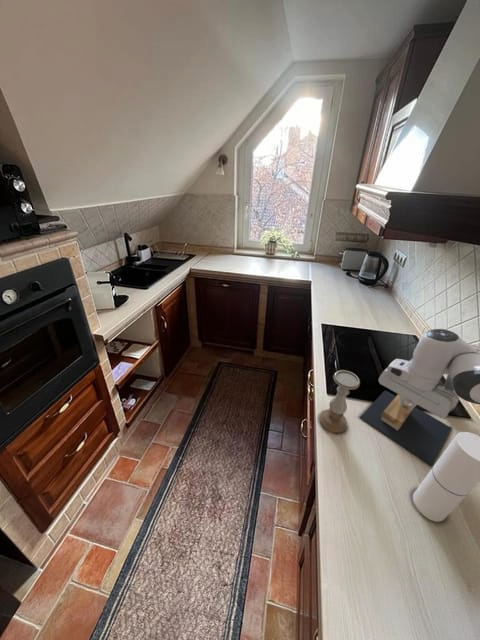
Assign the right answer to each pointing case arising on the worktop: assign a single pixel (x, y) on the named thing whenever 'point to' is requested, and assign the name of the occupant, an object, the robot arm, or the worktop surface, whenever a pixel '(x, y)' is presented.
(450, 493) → the cylindrical container
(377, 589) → the worktop surface
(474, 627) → the worktop surface
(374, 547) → the worktop surface
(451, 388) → the plastic bottle
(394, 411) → the wooden block
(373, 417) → the mat
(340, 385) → the candle holder
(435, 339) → the robot arm
